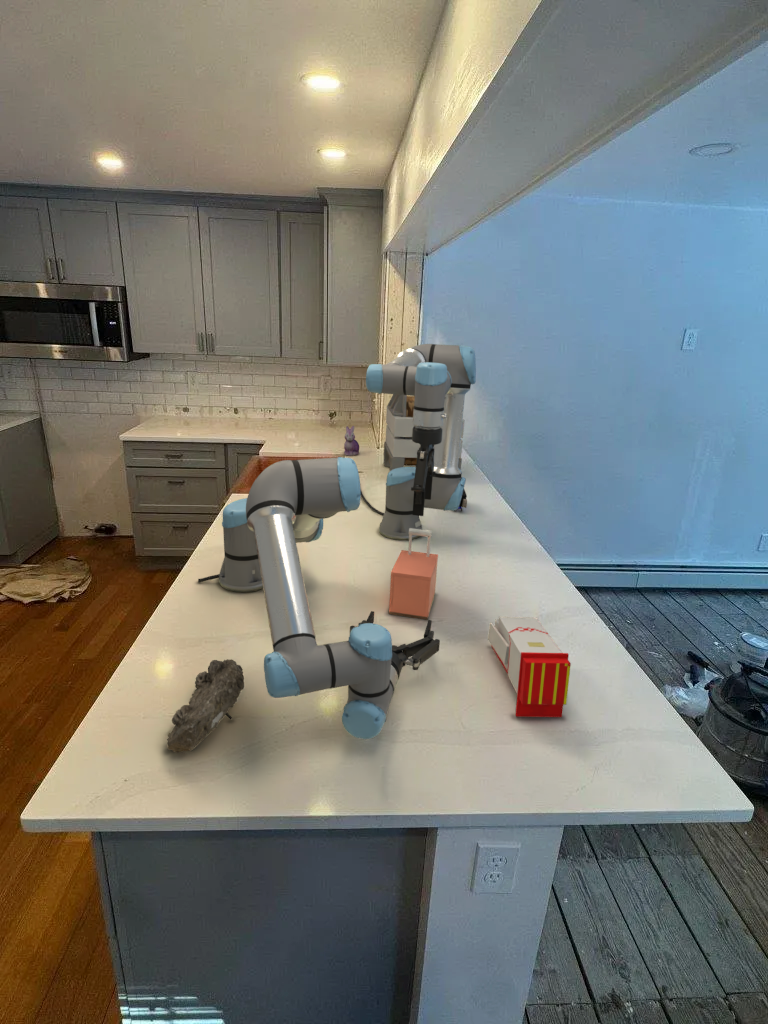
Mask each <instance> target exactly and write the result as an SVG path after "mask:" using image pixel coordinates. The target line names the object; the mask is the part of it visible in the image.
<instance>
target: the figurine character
mask: <svg viewBox="0 0 768 1024" xmlns="http://www.w3.org/2000/svg"><path fill="white" fill-rule="evenodd" d="M467 495H468V494H467V493H466V490H465V489H464V490H463V494H462V498H461V501H460V505H459V507H458V509H459V510H460V512H463V509H464V508H465V509H466V508H467V506H468V499H467V497H468V496H467ZM458 509H457V510H458ZM453 512H456V510H454V511H453Z"/></svg>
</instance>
